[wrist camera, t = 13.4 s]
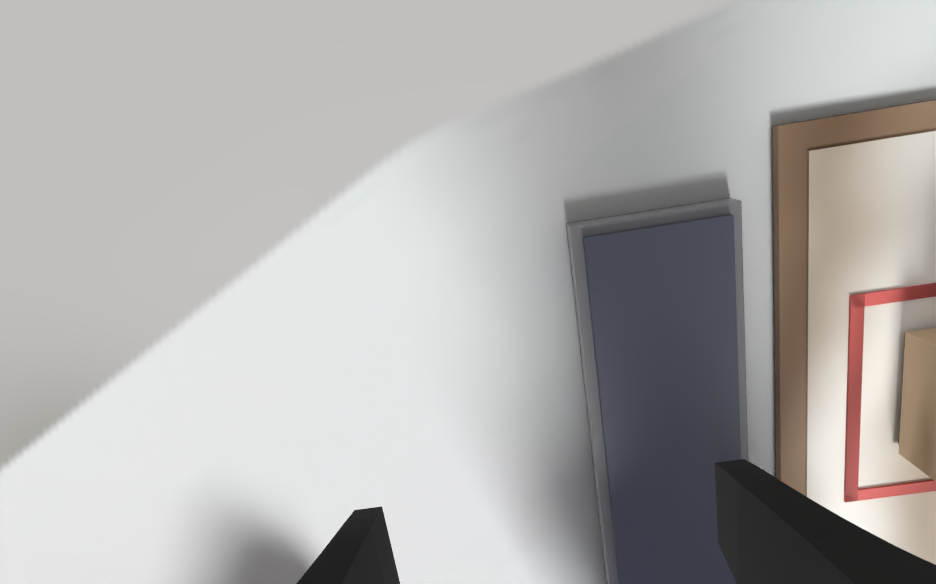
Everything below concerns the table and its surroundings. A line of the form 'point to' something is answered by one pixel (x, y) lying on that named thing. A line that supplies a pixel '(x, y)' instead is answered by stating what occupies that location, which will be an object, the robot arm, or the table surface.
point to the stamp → (919, 401)
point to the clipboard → (854, 311)
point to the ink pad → (662, 382)
